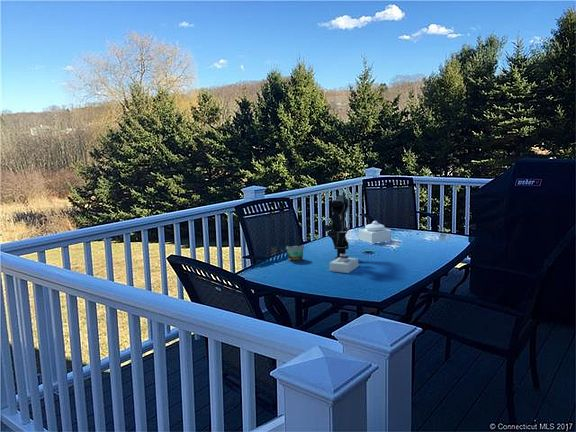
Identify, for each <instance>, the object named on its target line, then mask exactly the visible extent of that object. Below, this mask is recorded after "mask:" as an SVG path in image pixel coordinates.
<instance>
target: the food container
mask: <svg viewBox="0 0 576 432" xmlns="http://www.w3.org/2000/svg"><path fill="white" fill-rule="evenodd" d="M285 249H286V251H287V259H288V261H289V262H294V263H296V262H297V263H298V262H302V261H303V260H304V259H303V258H304V249H305V245H304V244H302V245H292V246H289V245H286V247H285Z"/></svg>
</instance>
